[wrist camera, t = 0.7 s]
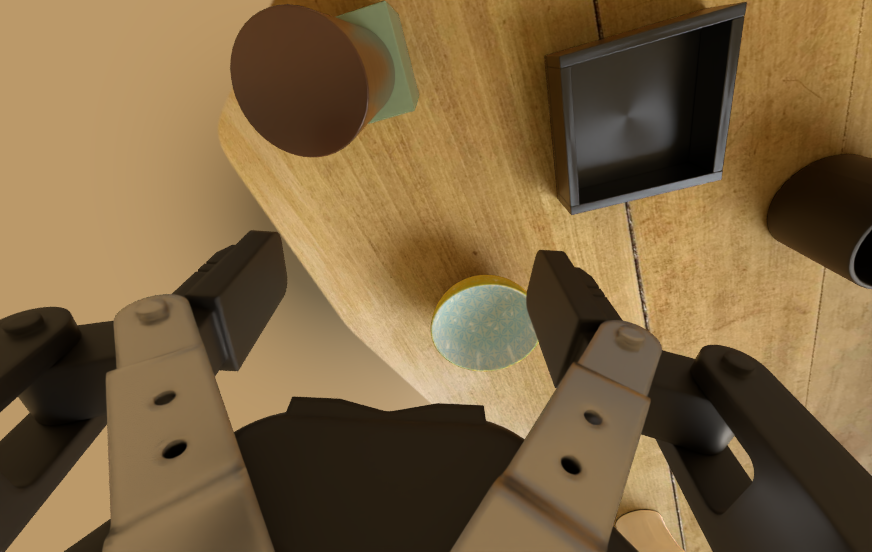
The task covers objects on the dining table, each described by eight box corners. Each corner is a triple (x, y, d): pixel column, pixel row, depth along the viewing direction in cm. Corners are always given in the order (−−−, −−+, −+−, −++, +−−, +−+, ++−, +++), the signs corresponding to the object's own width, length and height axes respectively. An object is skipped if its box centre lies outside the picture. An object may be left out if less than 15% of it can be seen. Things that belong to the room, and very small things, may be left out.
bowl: (432, 336, 46) (431, 373, 40) (430, 254, 40) (429, 285, 34) (523, 335, 46) (535, 372, 40) (535, 252, 40) (551, 283, 34)
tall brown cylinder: (300, 39, 22) (201, 29, 13) (380, 13, 21) (337, -17, 12) (333, 125, 25) (271, 171, 15) (405, 104, 24) (386, 139, 14)
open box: (544, 55, 30) (559, 56, 27) (707, 7, 29) (747, 1, 25) (557, 198, 37) (571, 215, 33) (691, 166, 35) (721, 179, 31)
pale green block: (326, 36, 30) (289, 31, 22) (398, 13, 29) (385, 0, 21) (354, 115, 33) (329, 135, 25) (419, 96, 32) (415, 110, 24)
